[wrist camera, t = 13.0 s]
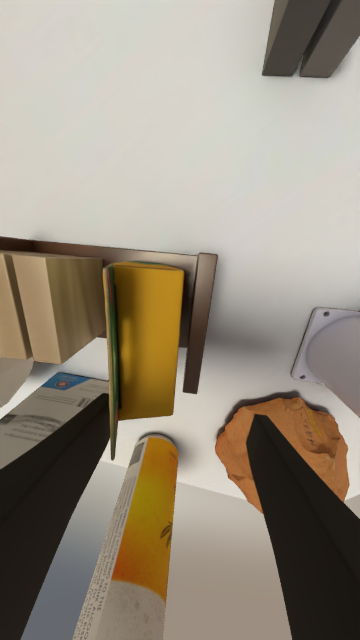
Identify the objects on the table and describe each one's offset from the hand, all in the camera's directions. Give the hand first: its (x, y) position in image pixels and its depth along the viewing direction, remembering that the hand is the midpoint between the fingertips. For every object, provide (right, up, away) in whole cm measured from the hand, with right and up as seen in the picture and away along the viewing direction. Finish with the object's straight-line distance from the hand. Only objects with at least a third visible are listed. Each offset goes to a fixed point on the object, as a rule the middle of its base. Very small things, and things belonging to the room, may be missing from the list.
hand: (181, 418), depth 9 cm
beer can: (-3, -13, +16) cm, 20 cm away
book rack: (-6, +8, +9) cm, 13 cm away
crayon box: (-3, +7, +8) cm, 11 cm away
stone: (+11, -11, +15) cm, 22 cm away
